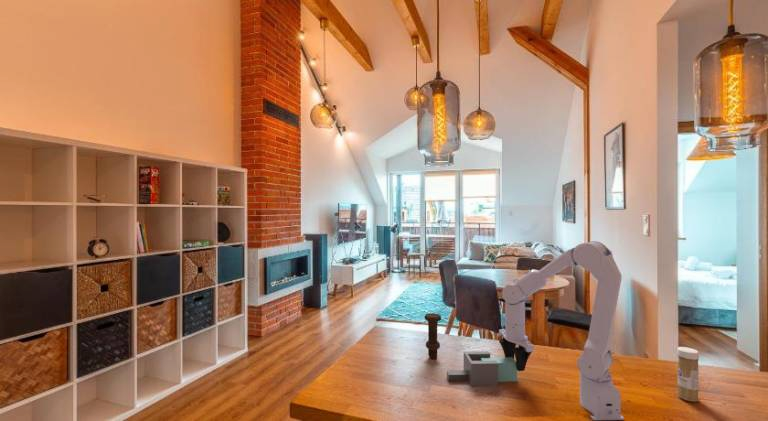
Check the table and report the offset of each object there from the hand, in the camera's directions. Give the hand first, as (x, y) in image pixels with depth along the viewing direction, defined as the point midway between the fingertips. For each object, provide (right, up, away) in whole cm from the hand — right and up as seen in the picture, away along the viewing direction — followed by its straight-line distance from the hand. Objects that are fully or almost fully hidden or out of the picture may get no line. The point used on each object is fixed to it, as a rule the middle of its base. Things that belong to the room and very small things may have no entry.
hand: (515, 366), depth 109 cm
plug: (-5, -4, 0) cm, 6 cm away
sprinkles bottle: (+43, -4, -12) cm, 45 cm away
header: (-14, -4, 0) cm, 14 cm away
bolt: (-23, -4, +15) cm, 28 cm away
